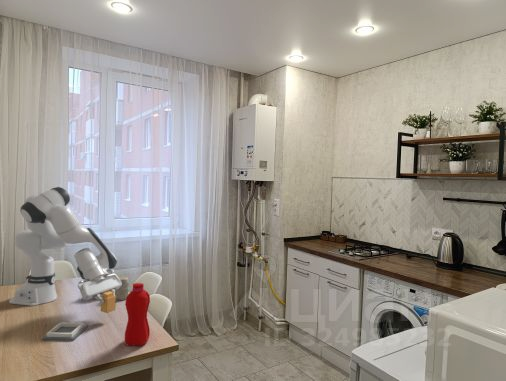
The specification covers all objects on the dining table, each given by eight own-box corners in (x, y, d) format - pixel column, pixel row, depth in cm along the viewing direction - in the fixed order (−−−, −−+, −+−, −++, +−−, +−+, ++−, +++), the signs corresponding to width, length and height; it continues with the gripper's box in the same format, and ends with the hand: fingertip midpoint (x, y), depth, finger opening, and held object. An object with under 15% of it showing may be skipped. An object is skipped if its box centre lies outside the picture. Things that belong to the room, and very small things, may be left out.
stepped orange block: (100, 311, 163) (100, 293, 163) (108, 307, 167) (109, 290, 167) (107, 313, 161) (107, 295, 161) (115, 310, 165) (115, 292, 165)
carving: (130, 299, 194) (131, 278, 194) (117, 302, 189) (117, 280, 189) (126, 295, 199) (126, 275, 198) (113, 298, 194) (113, 277, 193)
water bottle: (152, 334, 152) (153, 279, 151) (144, 347, 141) (146, 287, 140) (131, 334, 152) (132, 278, 151) (122, 346, 141) (123, 286, 140)
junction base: (42, 340, 144) (42, 334, 144) (59, 326, 157) (59, 321, 157) (73, 340, 144) (73, 335, 144) (87, 327, 157) (87, 321, 157)
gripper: (79, 278, 157) (93, 304, 153) (115, 268, 175) (129, 291, 171) (72, 286, 160) (86, 311, 156) (109, 275, 178) (122, 297, 174)
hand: (109, 300), depth 164 cm, fingers closed on stepped orange block, 5 cm apart
